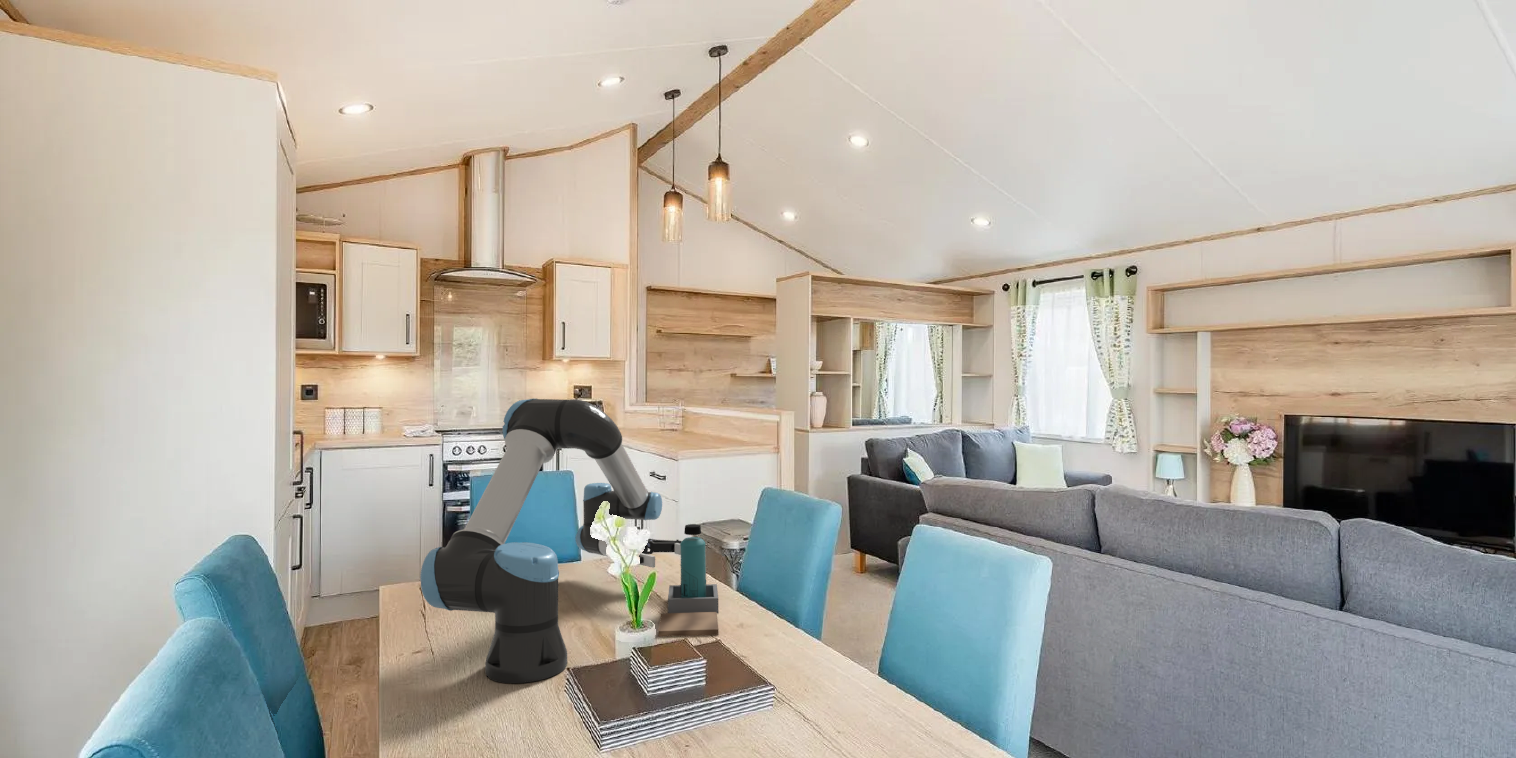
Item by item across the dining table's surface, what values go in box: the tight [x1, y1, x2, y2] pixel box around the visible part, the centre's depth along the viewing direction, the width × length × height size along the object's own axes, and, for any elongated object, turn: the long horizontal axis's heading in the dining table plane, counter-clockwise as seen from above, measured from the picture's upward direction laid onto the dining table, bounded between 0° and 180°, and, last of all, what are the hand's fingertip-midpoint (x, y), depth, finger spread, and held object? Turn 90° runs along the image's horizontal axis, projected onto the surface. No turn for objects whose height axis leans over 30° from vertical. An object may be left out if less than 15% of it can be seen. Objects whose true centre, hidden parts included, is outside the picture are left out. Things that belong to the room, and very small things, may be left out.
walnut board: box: [657, 612, 719, 638], centre depth 165 cm, size 13×12×1 cm
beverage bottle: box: [679, 523, 707, 598], centre depth 180 cm, size 6×7×20 cm
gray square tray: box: [667, 583, 719, 614], centre depth 180 cm, size 12×12×4 cm
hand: (674, 556), depth 185 cm, fingers open, 13 cm apart
